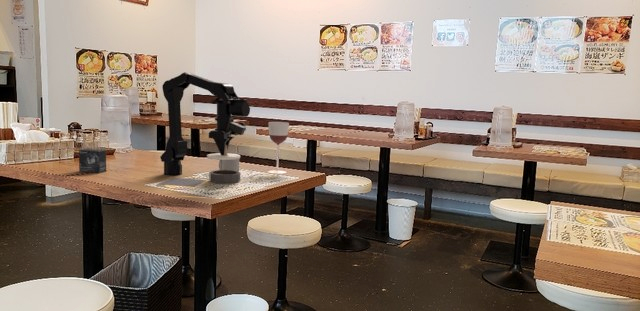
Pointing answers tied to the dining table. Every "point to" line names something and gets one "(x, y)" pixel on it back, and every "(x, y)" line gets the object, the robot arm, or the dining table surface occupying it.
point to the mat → (183, 182)
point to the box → (92, 160)
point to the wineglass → (278, 138)
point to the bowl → (224, 176)
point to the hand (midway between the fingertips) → (223, 154)
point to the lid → (223, 156)
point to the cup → (229, 164)
